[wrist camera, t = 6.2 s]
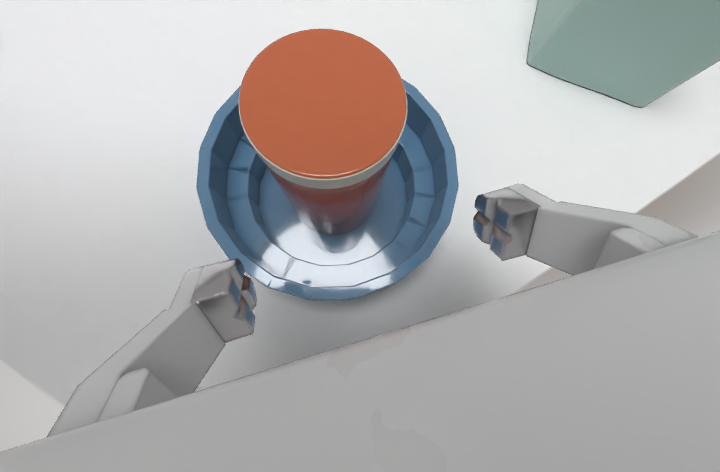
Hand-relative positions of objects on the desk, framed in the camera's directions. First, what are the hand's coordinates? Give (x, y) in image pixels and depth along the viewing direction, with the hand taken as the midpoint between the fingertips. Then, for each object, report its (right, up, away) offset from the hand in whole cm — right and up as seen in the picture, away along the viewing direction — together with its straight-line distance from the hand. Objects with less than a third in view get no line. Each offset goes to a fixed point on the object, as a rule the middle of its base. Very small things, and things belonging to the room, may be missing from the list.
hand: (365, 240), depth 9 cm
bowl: (-2, +3, +12) cm, 13 cm away
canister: (-2, +3, +12) cm, 13 cm away
